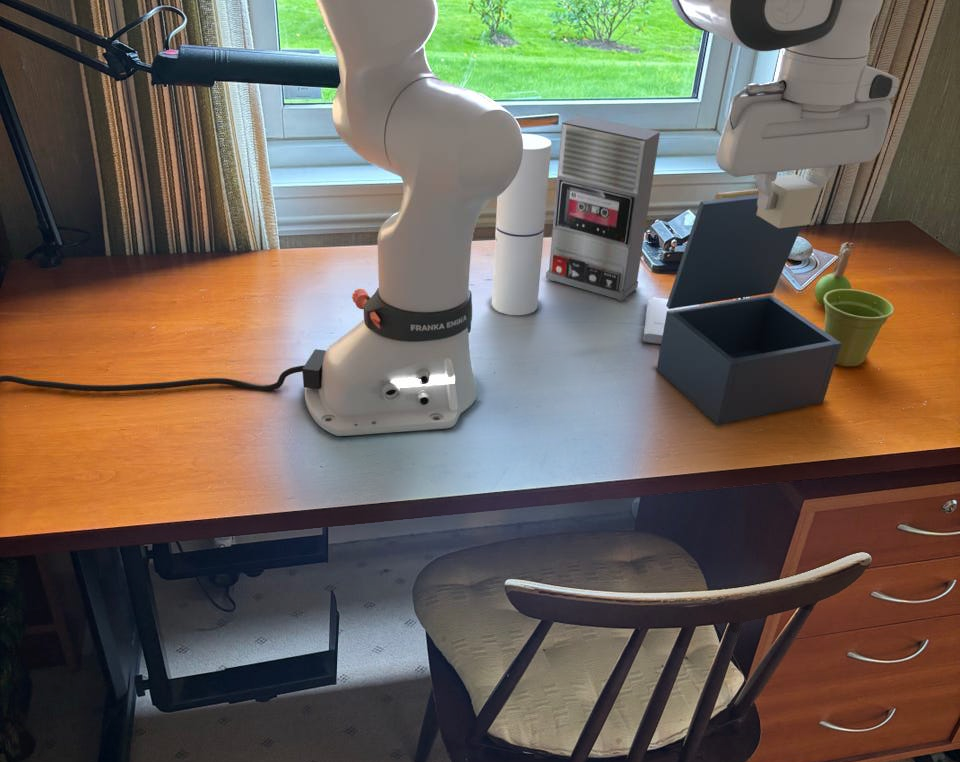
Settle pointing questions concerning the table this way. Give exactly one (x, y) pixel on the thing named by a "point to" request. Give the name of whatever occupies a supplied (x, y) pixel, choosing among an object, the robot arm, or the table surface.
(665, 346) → the chest
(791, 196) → the block
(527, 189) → the cylindrical container
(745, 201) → the lid
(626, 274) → the cassette tape recorder
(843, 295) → the plant pot
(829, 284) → the green maraca
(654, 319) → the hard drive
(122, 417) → the table surface
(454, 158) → the robot arm
